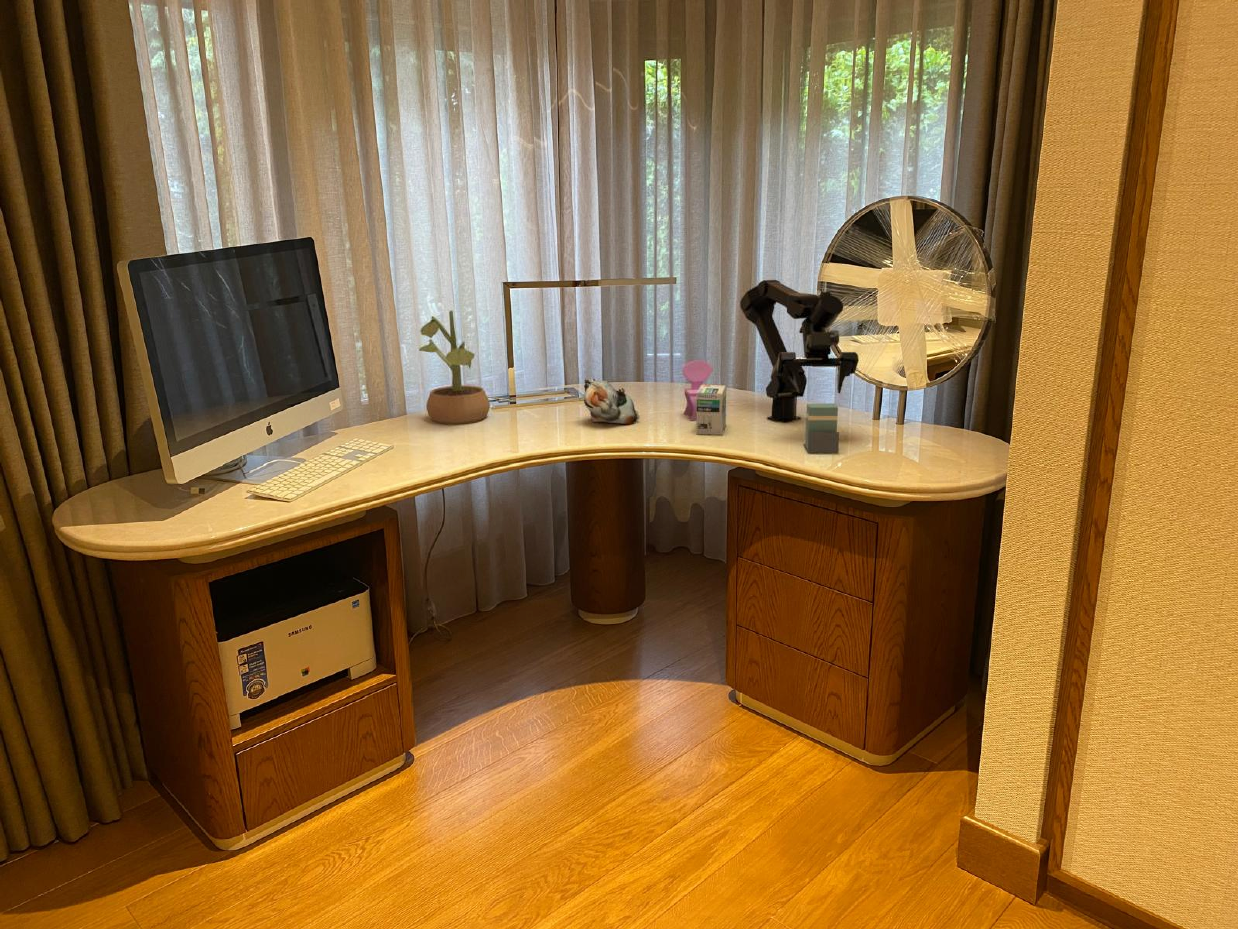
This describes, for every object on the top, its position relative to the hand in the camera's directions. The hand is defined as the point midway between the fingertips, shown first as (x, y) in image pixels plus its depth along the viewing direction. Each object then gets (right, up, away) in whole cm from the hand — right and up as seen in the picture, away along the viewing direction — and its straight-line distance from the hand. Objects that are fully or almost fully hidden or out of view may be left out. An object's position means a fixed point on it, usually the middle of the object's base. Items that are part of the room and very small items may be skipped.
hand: (819, 392), depth 218 cm
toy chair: (-26, -4, +32) cm, 41 cm away
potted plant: (-91, -5, +31) cm, 96 cm away
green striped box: (0, -13, -1) cm, 13 cm away
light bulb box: (-24, -8, +18) cm, 31 cm away
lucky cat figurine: (-49, -6, +27) cm, 57 cm away
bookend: (0, -13, -1) cm, 13 cm away
